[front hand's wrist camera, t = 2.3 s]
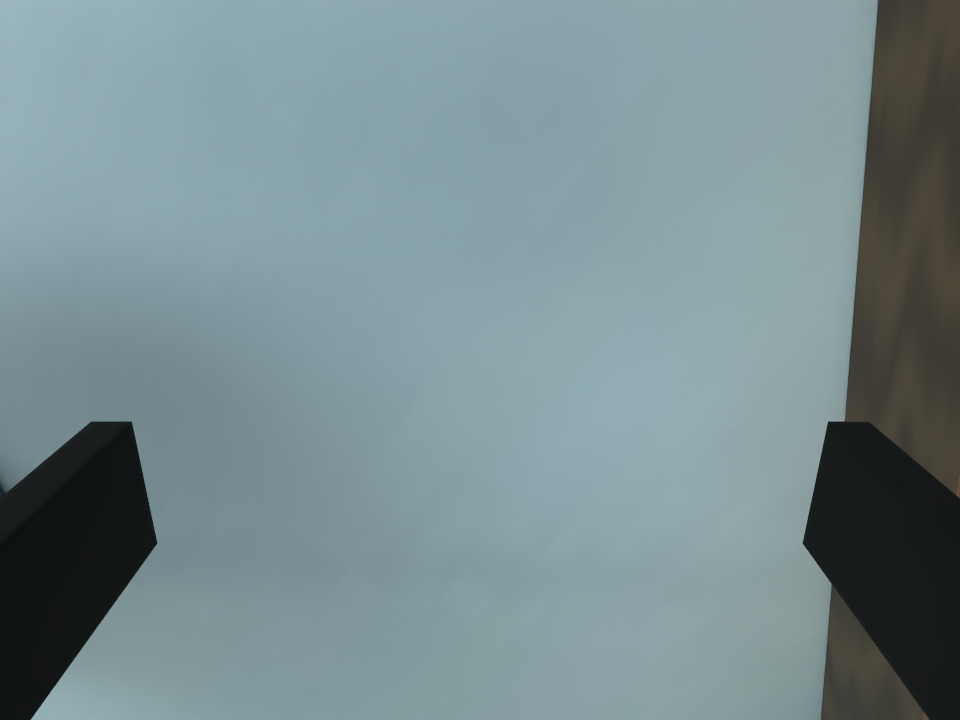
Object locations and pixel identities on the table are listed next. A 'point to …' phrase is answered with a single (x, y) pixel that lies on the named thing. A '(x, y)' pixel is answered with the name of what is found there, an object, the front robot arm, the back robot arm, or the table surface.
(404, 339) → the table surface
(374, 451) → the table surface
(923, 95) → the post
